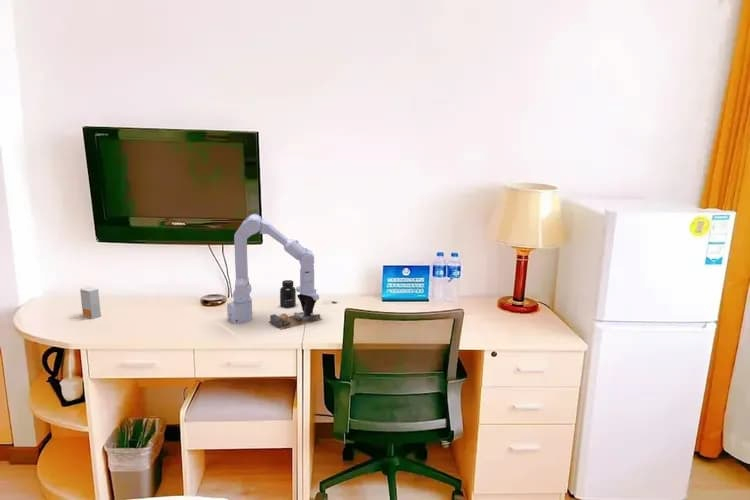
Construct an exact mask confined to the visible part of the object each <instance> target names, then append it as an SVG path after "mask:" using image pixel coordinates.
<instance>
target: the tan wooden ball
mask: <svg viewBox="0 0 750 500" xmlns="http://www.w3.org/2000/svg"><path fill="white" fill-rule="evenodd" d="M278 316H279V317H280V318H282V324H283V323H285V322H288V320H289V317H290V316H288V314H286V313H281V314H280V315H278Z"/></svg>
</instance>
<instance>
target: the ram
mask: <svg viewBox="0 0 750 500" xmlns="http://www.w3.org/2000/svg"><path fill="white" fill-rule="evenodd" d="M298 313H299V312H298ZM298 313H297V312H296V311H295V312H293V316H294V318H295V319H297V320H298V321H301V318H304V317H308V316H312V315H315V314H314V313H313V314H312V313H311V314H307V310H306V304H305V303H304V313H303V314H298Z"/></svg>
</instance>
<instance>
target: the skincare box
mask: <svg viewBox="0 0 750 500" xmlns="http://www.w3.org/2000/svg"><path fill="white" fill-rule="evenodd" d="M79 292H80V300H81V302H80V303H81V310H82V316H83V317H84V318H89V319H92V320H94V319H97V318H101V316H102V313H101V312H102V311H101V306H100V305H101V303H100V302H101V301H100V295H99V294H100V293H99V288H96V287H94V286H93V287H92V286H86V287H84V288H80V289H79Z"/></svg>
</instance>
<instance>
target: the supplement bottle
mask: <svg viewBox="0 0 750 500" xmlns="http://www.w3.org/2000/svg"><path fill="white" fill-rule="evenodd" d="M281 282H282V283H281V284H282V287H280V289H279V306H280V308H283V309H292V308H295V307H296V306H297V302H296V301H297V291H296V287H295V286H294V281H293V280H291V279H285V280H282V281H281Z"/></svg>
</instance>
